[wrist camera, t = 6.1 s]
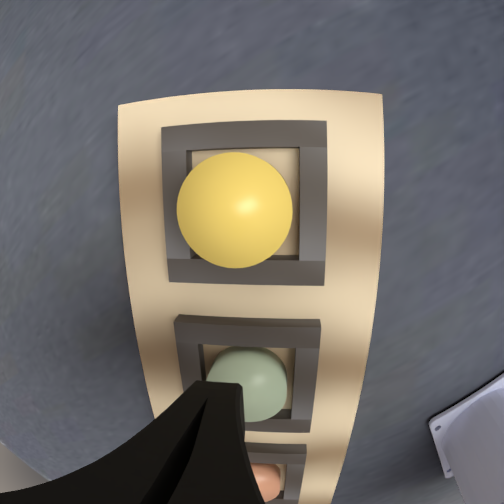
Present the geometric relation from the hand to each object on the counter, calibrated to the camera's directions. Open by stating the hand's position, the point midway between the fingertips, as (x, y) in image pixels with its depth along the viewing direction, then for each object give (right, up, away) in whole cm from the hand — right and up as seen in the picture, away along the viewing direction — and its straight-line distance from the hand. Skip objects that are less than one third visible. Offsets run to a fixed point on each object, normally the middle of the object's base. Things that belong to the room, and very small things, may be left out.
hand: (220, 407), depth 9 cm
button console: (+1, -1, +8) cm, 8 cm away
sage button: (+1, -1, +6) cm, 6 cm away
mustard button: (0, +6, +3) cm, 7 cm away
